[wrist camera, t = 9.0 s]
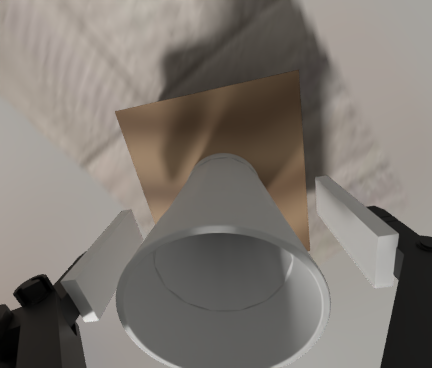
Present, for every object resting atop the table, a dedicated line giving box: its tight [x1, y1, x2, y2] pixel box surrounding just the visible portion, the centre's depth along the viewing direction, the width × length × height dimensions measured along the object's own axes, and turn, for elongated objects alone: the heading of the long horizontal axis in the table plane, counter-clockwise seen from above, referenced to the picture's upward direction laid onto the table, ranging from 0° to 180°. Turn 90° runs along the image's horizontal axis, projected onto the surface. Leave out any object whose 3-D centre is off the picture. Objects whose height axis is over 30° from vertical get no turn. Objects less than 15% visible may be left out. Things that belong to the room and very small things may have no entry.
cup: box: [116, 153, 331, 368], centre depth 14 cm, size 8×8×12 cm
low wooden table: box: [115, 70, 310, 251], centre depth 22 cm, size 16×14×6 cm
